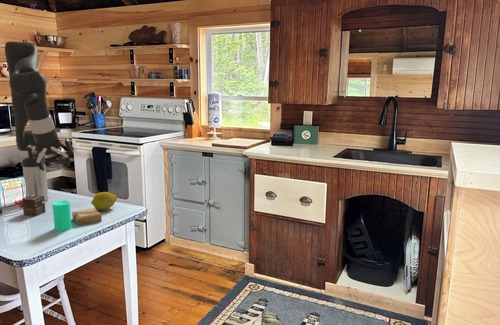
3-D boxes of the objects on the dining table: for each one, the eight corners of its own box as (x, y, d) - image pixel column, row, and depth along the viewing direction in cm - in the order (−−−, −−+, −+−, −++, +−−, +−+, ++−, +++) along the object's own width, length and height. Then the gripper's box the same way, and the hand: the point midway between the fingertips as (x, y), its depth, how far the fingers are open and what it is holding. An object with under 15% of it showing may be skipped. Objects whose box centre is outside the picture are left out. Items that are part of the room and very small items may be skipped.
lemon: (92, 213, 164) (91, 196, 163) (90, 208, 171) (89, 191, 169) (118, 210, 169) (117, 193, 167) (116, 205, 176) (115, 188, 174)
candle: (58, 232, 144) (56, 202, 141) (51, 228, 148) (49, 199, 145) (74, 228, 148) (72, 199, 146) (67, 224, 152) (65, 195, 150)
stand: (72, 218, 158) (72, 211, 157) (95, 214, 163) (94, 207, 163) (78, 225, 151) (77, 218, 150) (101, 221, 156) (101, 213, 156)
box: (35, 216, 159) (34, 200, 158) (23, 215, 160) (21, 198, 159) (46, 211, 165) (44, 195, 164) (33, 210, 166) (32, 194, 165)
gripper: (65, 120, 139) (76, 159, 148) (21, 127, 135) (35, 166, 143) (64, 129, 133) (76, 168, 142) (19, 136, 129) (34, 176, 137)
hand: (55, 167), depth 142 cm, fingers open, 8 cm apart
